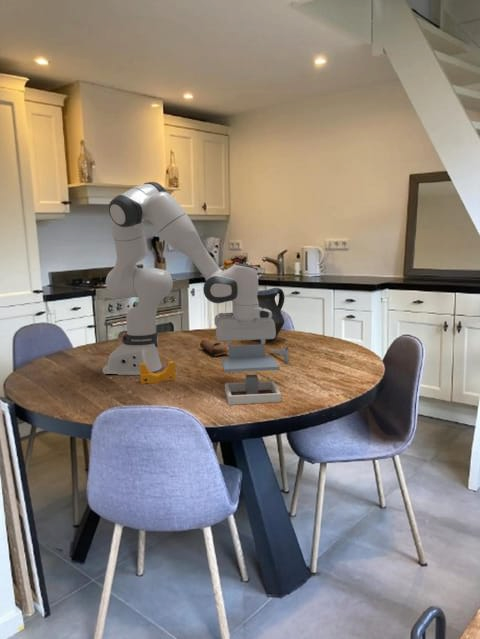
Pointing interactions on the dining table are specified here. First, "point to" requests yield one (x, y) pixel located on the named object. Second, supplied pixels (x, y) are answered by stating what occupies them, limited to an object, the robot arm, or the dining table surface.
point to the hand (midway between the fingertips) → (246, 352)
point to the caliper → (282, 353)
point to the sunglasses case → (213, 347)
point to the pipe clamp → (157, 374)
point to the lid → (248, 359)
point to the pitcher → (272, 307)
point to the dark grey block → (251, 384)
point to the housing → (252, 398)
